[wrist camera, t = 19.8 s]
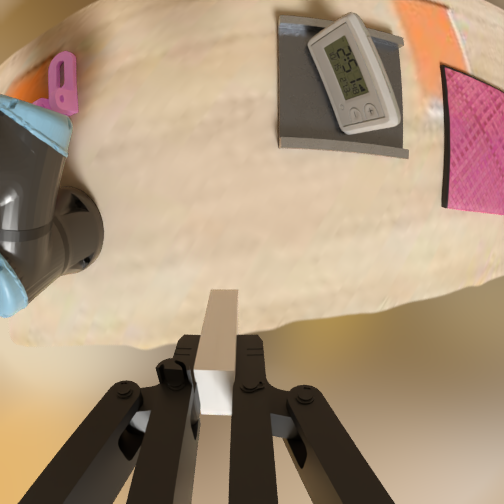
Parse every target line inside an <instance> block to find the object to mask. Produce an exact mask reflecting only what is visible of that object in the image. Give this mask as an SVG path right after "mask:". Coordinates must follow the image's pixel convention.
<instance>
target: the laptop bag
mask: <svg viewBox="0 0 504 504" xmlns="http://www.w3.org/2000/svg"><path fill="white" fill-rule="evenodd" d="M440 69H441V78H442V88H443V101H444V123H445V154H444V175H443V190H442V207H444V208H449V209H456V210H463V211H473V212H482V213H490V214H498V215H504V92H502V91H500V90H498V89H496V88H495V87H493V86H491V85H489V84H487V83H485V82H483V81H480V80H478V79H476V78H474V77H472V76H470V75H467V74H465V73H463V72H460V71H458V70H455V69H453V68H450V67H447V66H445V65H440Z"/></svg>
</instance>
